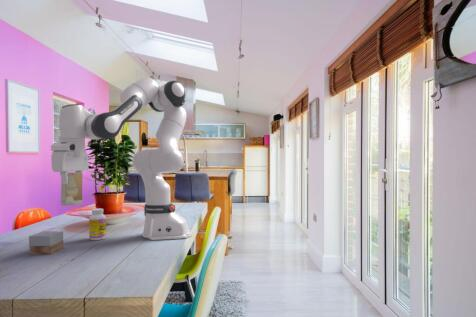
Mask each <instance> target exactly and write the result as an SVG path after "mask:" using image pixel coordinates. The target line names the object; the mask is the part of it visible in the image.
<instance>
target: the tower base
mask: <svg viewBox="0 0 476 317" xmlns="http://www.w3.org/2000/svg"><path fill="white" fill-rule="evenodd" d="M28 246H29V245H28ZM62 249H64V240H63V241H61V242H58V243H56V244H54V245H51V246H29V255H52V254H55V253H56V252H59V251H61V250H62Z"/></svg>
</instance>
